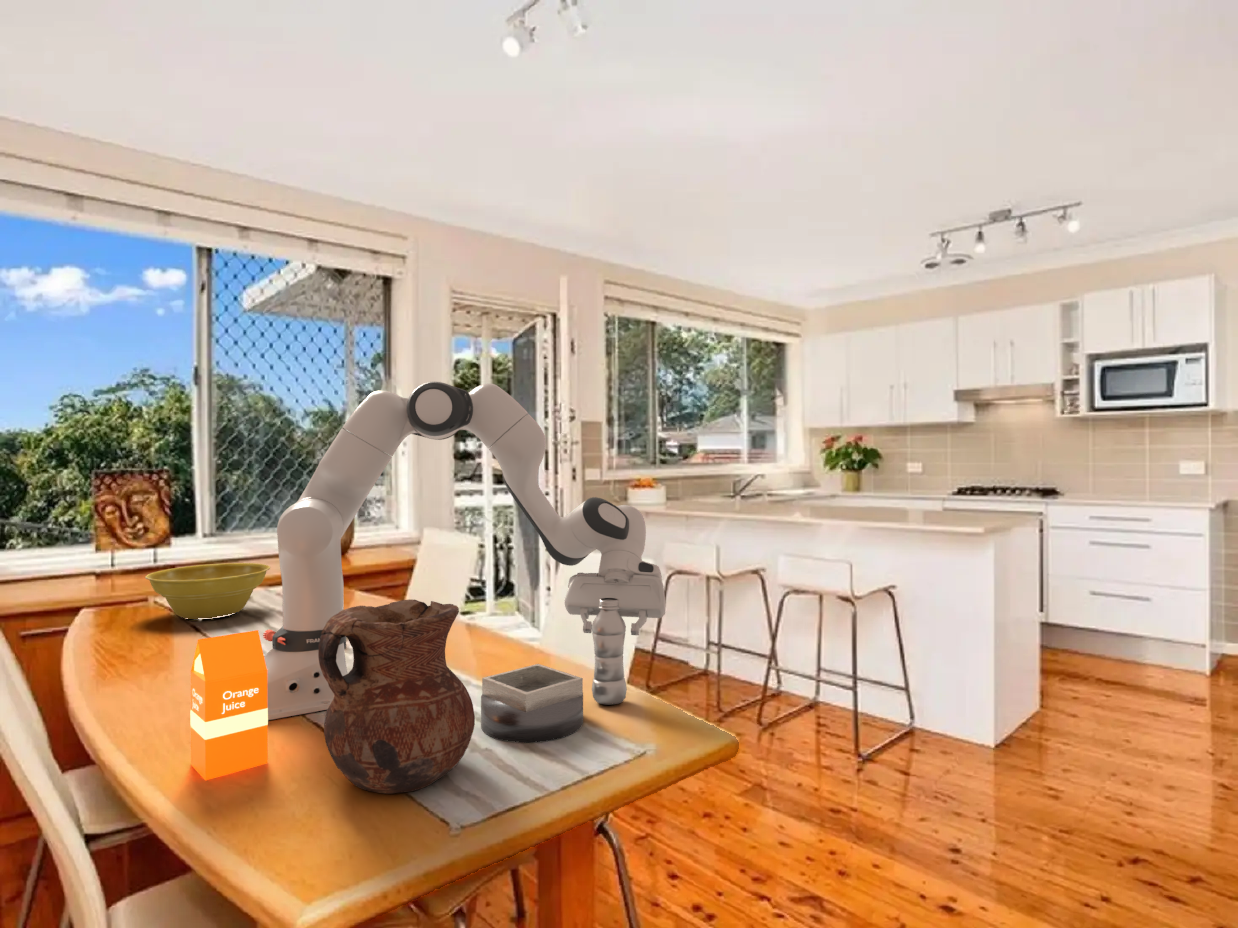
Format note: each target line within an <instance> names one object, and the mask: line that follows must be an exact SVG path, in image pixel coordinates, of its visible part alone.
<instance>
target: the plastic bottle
mask: <svg viewBox="0 0 1238 928" xmlns="http://www.w3.org/2000/svg"><path fill="white" fill-rule="evenodd" d="M599 609H600V612H599V614H598V615H597V616H596V615H595V617H594V620H593V621H592V633H591V634H592V640H593V648H594V649H593V650H594V669H593V673H594V674H593V679H592V686H591V692H592V698H593V699H594V701H595V702H597V703H598V704H601V705H609V706H610V705H618V704H621V703H623V702H624V701H625V699H626V696H627V690H628V689H627V682H626V678H625V670H624V645H625V639H626V631H627V629H626V628H627V626H626V623H625V620H624V618H623V617H621V615H620V614H619V613H618V609H619V599H618V598H612V597H606V598H600V600H599Z"/></svg>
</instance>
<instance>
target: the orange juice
mask: <svg viewBox="0 0 1238 928" xmlns="http://www.w3.org/2000/svg"><path fill="white" fill-rule="evenodd" d="M261 641H262V640H261V637H260V632H259V630H258V629H257V630H252V631H251V630H250V631H244V632H237V633H231V634H230V633H229V634H226V635H225V634H224V635H219V636H218V635H217V636H212V637H205V638H199V639H197V641H196V642H197V643H196V647H195V651H194V655H193V660H192V663H191V664H192V665H191V669H190V712H189V713H190V714H189V716H190V722H189V723H190V724H189V725H190V766H191V767H193V769H194V770H195V771H196V772H197V773H198V775H200V777H201V778H203V780H205V781H208V780H212V779H215V778H219V777H222V776H227V775H230V774H231V775H232V774H234V773H237V772H241V771H245V770H248V769H251V768H255V767H259V766H263V765H266V764H269V763H268V761H269V760H268V759H269V758H268V757H269V755H268V753H269V752H268V751H269V750H268V747H269V745H268V743H269V742H268V735H269V734H268V725H269V720H268V708H267V668H266V664H265V659H264V656H265V654H264V651H263V647H262V643H261Z"/></svg>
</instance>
